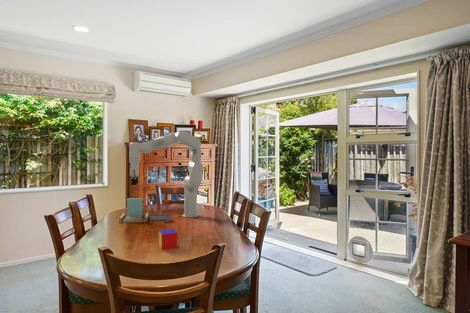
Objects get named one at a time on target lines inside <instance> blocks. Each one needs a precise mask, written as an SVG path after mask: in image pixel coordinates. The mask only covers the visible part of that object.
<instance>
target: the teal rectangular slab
mask: <svg viewBox="0 0 470 313" xmlns="http://www.w3.org/2000/svg"><path fill="white" fill-rule="evenodd" d="M142 201H143V198H142V197H140V198H139V197H138V198H137V197H136V198H132V197H131V198H127V199H126V215H127V216H142Z"/></svg>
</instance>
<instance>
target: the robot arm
mask: <svg viewBox="0 0 470 313" xmlns="http://www.w3.org/2000/svg"><path fill="white" fill-rule="evenodd" d="M201 142H202V141H201V140H200V139H199V138H198V137H196V136H194V135H192V134H190V133H188V132H186V131H184V130H181V131H176V132H173V133H169V134H167V135H162V136H159V137H157V138H155V139H150V140H148V141H145V142H140V143H139V142H130V143H129V146H128V147H129V148H128V149H129V150H128V151H129V153H128V154H129V155H128V156H129V157H128V158H129V160H128V163H130V166H129V177H131V179H130V180H131V183H130V184H131V186H136V185H137V184H138V183H139V178H138V176H139V171H140V170H139V168H140V166H139V163H141V154H142V153H143V154H149V153H151V152H153V151H154V150H155V151H156V150H159V149H165V148H166V149H167V148H169V147H171V146H174V145H175V146H176V145H177V144H183V145H186V147H187V148H188V150H189V152H190V155H189V156H190V157H189V161H188V165H187V170H188V172H189V173H190V174H188V175H186V176H185V177H184V178H183V190H184V194H183V197H184V199H183V200H184V201H183V202H184V203H183V204H184V206H183V209H184V211H183V214H182V215H181V216H182V218H189V219H191V218H198V217H199V213H198V212H197V211H198V205H197V204H198V202H197V201H198V199H197V198H198V192H197V191H198V190H197V189H198V188H199V187H201V184H202V182H203V181H202V180H203V176H204V169H205V167H204V165H203V163H202V162H201V161H202V154H203V152H202V149H201V146H202V143H201Z"/></svg>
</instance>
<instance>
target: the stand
mask: <svg viewBox="0 0 470 313" xmlns="http://www.w3.org/2000/svg"><path fill="white" fill-rule="evenodd" d="M149 221H150V222H151V221H152V222H153V221H154V222H155V221H157V222H158V221H163V223H171V214H151V215H149Z"/></svg>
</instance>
